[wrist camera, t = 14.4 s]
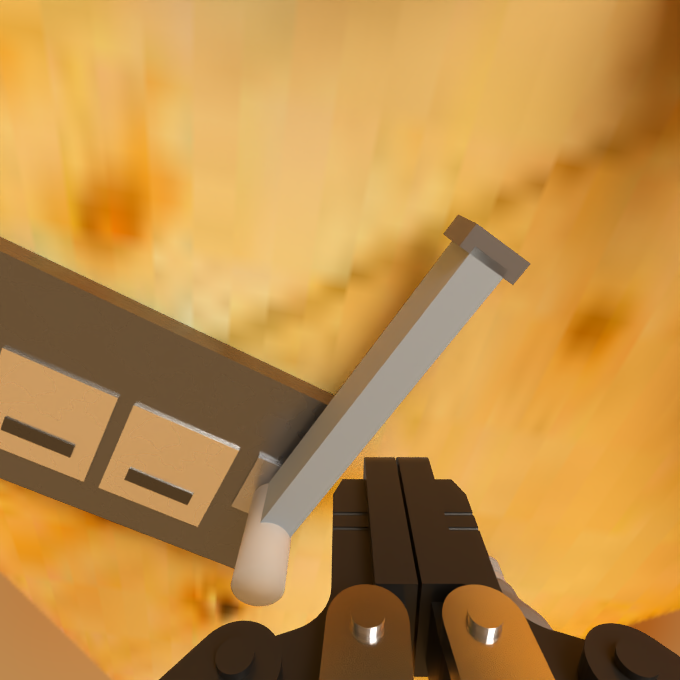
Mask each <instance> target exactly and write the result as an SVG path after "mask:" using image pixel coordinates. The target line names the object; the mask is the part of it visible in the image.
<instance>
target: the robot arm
mask: <svg viewBox="0 0 680 680" xmlns="http://www.w3.org/2000/svg"><path fill="white" fill-rule="evenodd" d="M413 675H414V677H428V679H429V680H680V657H679V656H678V655H677V654H675V653H674V652H672V651H671V650H669V649H668V648H666V647H665V646H663V645H662V644H660V643H659V642H658V641H656V640H655V639H653V638H651V637H650V636H648V635H647V634H645V633H643V632H641V631H639V630H637V629H634V628H632V627H629V626H625V625H621V624H613V623H609V624H602V625H598V626H596V627H594V628H593V629H592V630H590V631H589V633H588V634H587V636H586V639H585V640H584V639H580V638H577V637H573V636H570V635H567V634H563V633H560V632H557V631H553V630H550V629H547V628H545V627H542V626H540V625H538V624H536V623H533V622H532V621H530V620H529V619H527V618H525V616H524V615H523V613H522V611H521V610H520V608H519V607H518V606H517V605H516V604H515V603H514V602H513V601H512V600H511V599H510V598H509V597H507V596H506V595H505V594H503V592H502V590H501V588H500V585H499V583H498V580H497V577H496V575H495V572H494V569H493V566H492V564H491V561H490V558H489V556H488V553H487V550H486V548H485V545H484V542H483V539H482V537H481V534H480V531H478V526H477V523H476V521H475V518H474V516H473V515H472V510H471V507H470V504H469V502H468V499H467V496H466V494H465V493H464V492H463V491H462V490H461V489H460V488H459V487H458V486H457V485H456V484H455V483H454V482H453V481H452V480H451V479H434V476H433V472H432V469H431V465H430V462H429V459H428V458H427V457H397V458H396V460H395V458H394V457H364V475H363V479H342V481H341V483H340V484H339V486H338V488H337V489H336V491H335V492H334V494H333V536H332V586H331V595H330V598H329V601H328V603H327V605H326V607H325V608H324V610H323V611H322V612H321V613H320V614H319V615H318V617H317V618H315V619H314V620H313V621H311V622H310V623H308V624H307V625H305V626H303V627H300V628H298V629H295V630H292V631H289V632H286V633H283V634H280V635H277V636H275V635H274V634H273V633H272V632H271V631H270V630H269V629H268V628H267V627H265V626H264V625H261V624H259V623H256V622H252V621H236V622H232V623H228V624H226V625H223V626H221V627H219V628H218V629H216V630H214V631H213V632H212V633H210V634H209V635H208V636H207V637H206V638H204V639H203V640H202V641H201V642H200V643H199V644H198V645H197V646H196V647H195V648H193V649H192V650H191V651H190V652H189V653H188V654H187V655H186V656H185V657H184V658H182V659H181V660H180V661H179V662H178V663H177V664H176V665H175V666H174V667H172V668H171V669H170V670H169V671H168V672H167V673H166V674H165V675H164V676H163V677H161V678H160V679H159V680H414V679H413Z"/></svg>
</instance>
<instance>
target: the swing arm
mask: <svg viewBox="0 0 680 680" xmlns="http://www.w3.org/2000/svg"><path fill="white" fill-rule="evenodd" d="M444 235H445V236H447V237H448V238H449V239H451V240H452V242H451V243H450V245H449V246H448V247H447V249H446V250H445V251H444V252H443V254H442V255H441V256H440V258H439V259H438V260H437V262H436V263H435V264H434V266H433V267H432V268H431V270H430V271H429V272H428V274H427V275H426V276H425V278H424V279H423V280H422V282H421V283H420V284H419V285H418V287H417V288H416V289H415V291H414V292H413V293H412V295H411V296H410V297H409V299H408V300H407V301H406V303H405V304H404V305H403V307H402V308H401V309H400V311H399V312H398V313H397V314H396V316H395V317H394V318H393V320H392V321H391V322H390V324H389V325H388V326H387V328H386V329H385V330H384V332H383V333H382V334H381V336H380V337H379V338H378V340H377V341H376V342H375V344H374V345H373V346H372V347H371V349H370V350H369V351H368V353H367V354H366V355H365V357H364V358H363V359H362V361H361V362H360V363H359V365H358V366H357V367H356V369H355V370H354V371H353V373H352V374H351V375H350V377H349V378H348V379H347V380H346V382H345V383H344V384H343V386H342V387H341V388H340V390H339V391H338V392H337V394H336V395H335V396H334V398H333V399H332V400H331V402H330V403H329V404H328V406H327V407H326V408H325V410H324V411H323V412H322V413H321V415H320V416H319V417H318V419H317V420H316V421H315V423H314V424H313V425H312V427H311V428H310V429H309V431H308V432H307V433H306V435H305V436H304V437H303V439H302V440H301V441H300V442H299V444H298V445H297V446H296V448H295V449H294V450H293V452H292V453H291V454H290V456H289V457H288V458H287V460H286V461H285V462H284V464H283V465H282V466H281V468H280V469H279V470H278V472H277V473H276V474H275V475H274V477H273V478H272V479H271V481H270V482H269V483H267V484H264V485H262V486H260V487H259V488H258V489H257V490H256V491H255V492H254V494H253V498H252V502H251V506H250V510H249V514H248V518H247V522H246V526H245V530H244V534H243V538H242V542H241V546H240V549H239V553H238V557H237V561H236V565H235V569H234V573H233V577H232V581H231V589H232V592H233V594H234V595H235V596H236V597H237V598H238V599H239V600H240V601H242V602H244V603H246V604H249V605H253V606H266V605H270V604H273V603H275V602H276V601H278V600H279V599H280V598H281V597H282V595H283V593H284V590H285V582H286V574H287V566H288V558H289V550H290V542H291V536H292V535H293V534H294V532H295V531H296V530H297V529H298V528H299V526H300V525H301V524H302V523H303V521H304V520H305V519H306V518H307V517H308V515H309V514H310V513H311V512H312V510H313V509H314V508H315V507H316V506H317V504H318V503H319V502H320V501H321V499H322V498H323V497H324V496H325V495H326V493H327V492H328V491H329V490H330V488H331V487H332V486H333V485H334V484H335V482H336V481H337V480H338V479H339V478H340V476H341V475H342V474H343V473H344V471H345V470H346V469H347V468H348V467H349V465H350V464H351V463H352V462H353V460H354V459H355V458H356V457H357V456H358V454H359V453H360V452H361V451H362V449H363V448H364V447H365V446H366V445H367V443H368V442H369V441H370V440H371V438H372V437H373V436H374V435H375V434H376V432H377V431H378V430H379V429H380V427H381V426H382V425H383V424H384V423H385V421H386V420H387V419H388V418H389V417H390V415H391V414H392V413H393V412H394V410H395V409H396V408H397V407H398V406H399V404H400V403H401V402H402V401H403V399H404V398H405V397H406V396H407V395H408V393H409V392H410V391H411V390H412V388H413V387H414V386H415V385H416V384H417V382H418V381H419V380H420V379H421V377H422V376H423V375H424V374H425V373H426V371H427V370H428V369H429V368H430V366H431V365H432V364H433V363H434V362H435V360H436V359H437V358H438V357H439V356H440V354H441V353H442V352H443V351H444V349H445V348H446V347H447V346H448V345H449V343H450V342H451V341H452V340H453V338H454V337H455V336H456V335H457V334H458V332H459V331H460V330H461V329H462V327H463V326H464V325H465V324H466V323H467V321H468V320H469V319H470V318H471V316H472V315H473V314H474V313H475V312H476V310H477V309H478V308H479V307H480V305H481V304H482V303H483V302H484V301H485V299H486V298H487V297H488V296H489V295H490V293H491V292H492V291H493V290H494V288H495V287H496V286H497V285H498V284H499V282H500V281H501V280H502V279H503V278H504V279H505V280H507V281H508V282H509V283H511V284H512V285H513V284H514V283H515V282H516V281H517V279H518V278H519V277H520V276H521V275H522V273H523V272H524V271H525V270H526V269H527V267H528V266H529V265H530V263H529V262H527V261H526V260H525V259H523V258H522V257H521V256H519V255H518V254H517V253H515V252H514V251H513V250H511V249H510V248H509V247H507V246H506V245H505V244H503V243H502V242H501V241H499V240H498V239H497V238H495V237H494V236H493V235H491V234H490V233H489V232H487V231H486V230H485V229H483V228H482V227H480V226H479V225H478V224H476V223H474V222H472V221H470V220H468V219H466V218H464V217H462V216H460V215H457V217H456V218H455V219H454V221H453V222H452V223H451V225H450V226H449V227H448V229H447V230H446V231H445V233H444Z"/></svg>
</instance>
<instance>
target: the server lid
mask: <svg viewBox="0 0 680 680" xmlns="http://www.w3.org/2000/svg"><path fill="white" fill-rule="evenodd" d="M333 398H334V395H332V394H330V393H328V392H326V391H324V390H321V389H319V388H317V387H315V386H313V385H311V384H309V383H307V382H305V381H302V380H300V379H298V378H296V377H294V376H292V375H290V374H288V373H286V372H284V371H281V370H279V369H277V368H275V367H273V366H271V365H269V364H267V363H265V362H262V361H260V360H258V359H256V358H254V357H252V356H250V355H248V354H246V353H244V352H241V351H239V350H237V349H235V348H233V347H231V346H229V345H227V344H225V343H222V342H220V341H218V340H216V339H214V338H212V337H210V336H208V335H206V334H204V333H201V332H199V331H197V330H195V329H193V328H191V327H189V326H187V325H185V324H182V323H180V322H178V321H176V320H174V319H172V318H170V317H168V316H166V315H164V314H161V313H159V312H157V311H155V310H153V309H151V308H149V307H147V306H145V305H142V304H140V303H138V302H136V301H134V300H132V299H130V298H128V297H126V296H124V295H121V294H119V293H117V292H115V291H113V290H111V289H109V288H107V287H105V286H102V285H100V284H98V283H96V282H94V281H92V280H90V279H88V278H86V277H84V276H81V275H79V274H77V273H75V272H73V271H71V270H69V269H67V268H65V267H62V266H60V265H58V264H56V263H54V262H52V261H50V260H48V259H46V258H44V257H41V256H39V255H37V254H35V253H33V252H31V251H29V250H27V249H25V248H22V247H20V246H18V245H16V244H14V243H12V242H10V241H8V240H6V239H4V238H1V237H0V478H1V479H4V480H6V481H9V482H11V483H14V484H17V485H19V486H22V487H24V488H27V489H30V490H32V491H35V492H37V493H40V494H43V495H45V496H48V497H50V498H53V499H55V500H58V501H61V502H63V503H66V504H68V505H71V506H74V507H76V508H79V509H81V510H84V511H86V512H89V513H92V514H94V515H97V516H99V517H102V518H105V519H107V520H110V521H112V522H115V523H118V524H120V525H123V526H125V527H128V528H130V529H133V530H136V531H138V532H141V533H143V534H146V535H149V536H151V537H154V538H156V539H159V540H162V541H164V542H167V543H169V544H172V545H174V546H177V547H180V548H182V549H185V550H187V551H190V552H193V553H195V554H198V555H200V556H203V557H205V558H208V559H211V560H213V561H216V562H218V563H221V564H224V565H226V566H229V567H231V568H234V569H235V565H236V561H237V557H238V553H239V549H240V546H241V542H242V538H243V534H244V530H245V526H246V522H247V518H248V514H249V510H250V506H251V502H252V498H253V494H254V492H255V491H256V490H257V489H258V488H259V487H260V486H262V485H264V484H267V483H269V482H270V481H271V479H272V478H273V477H274V475H275V474H276V473H277V472H278V470H279V469H280V468H281V466H282V465H283V464H284V462H285V461H286V460H287V458H288V457H289V456H290V454H291V453H292V452H293V450H294V449H295V448H296V446H297V445H298V444H299V442H300V441H301V440H302V439H303V437H304V436H305V435H306V433H307V432H308V431H309V429H310V428H311V427H312V425H313V424H314V423H315V421H316V420H317V419H318V417H319V416H320V415H321V413H322V412H323V411H324V410H325V408H326V407H327V406H328V404H329V403H330V402H331V400H332V399H333Z"/></svg>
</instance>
